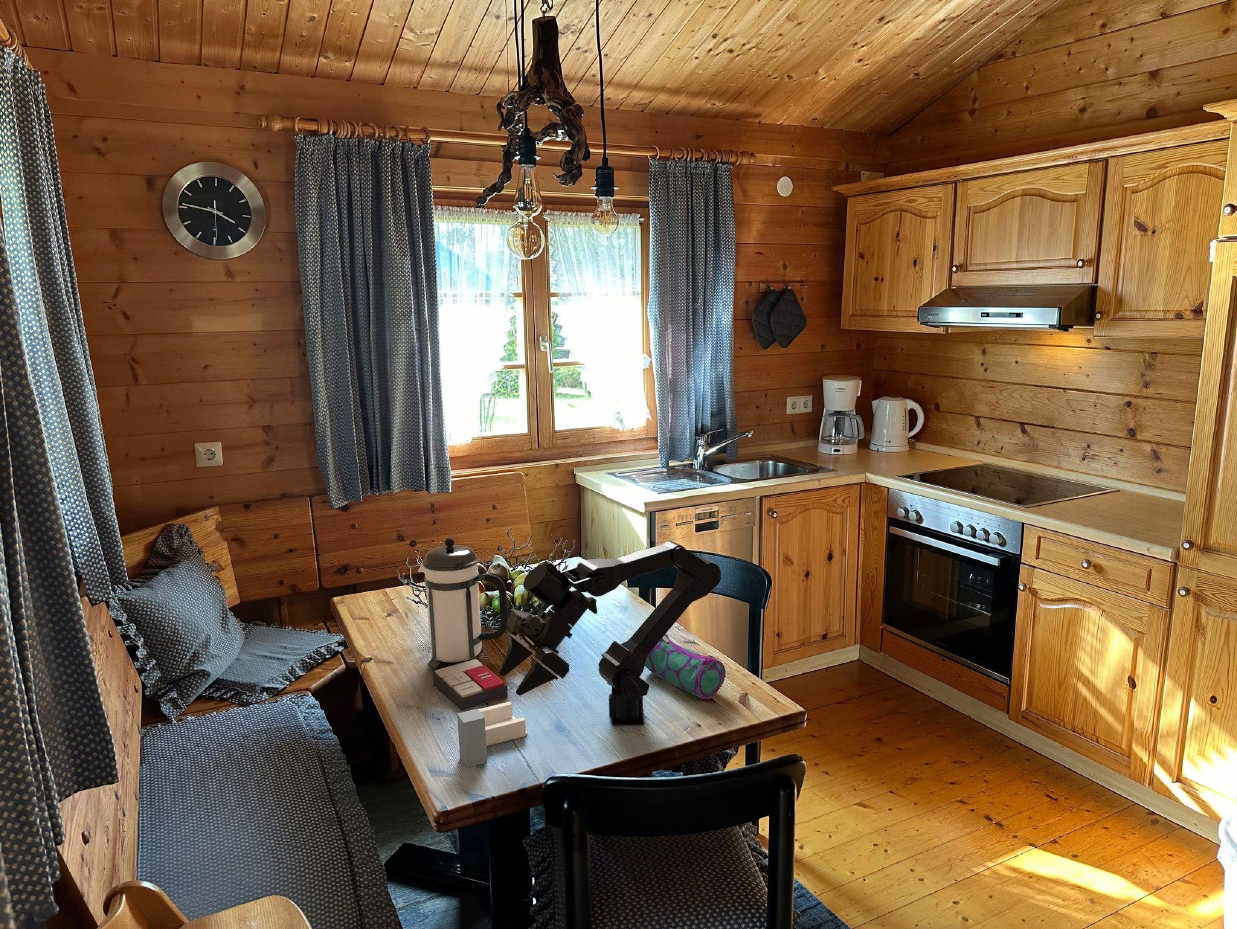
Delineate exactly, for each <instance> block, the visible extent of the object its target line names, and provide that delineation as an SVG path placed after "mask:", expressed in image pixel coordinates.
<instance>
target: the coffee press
mask: <svg viewBox="0 0 1237 929" xmlns="http://www.w3.org/2000/svg"><path fill="white" fill-rule="evenodd" d="M455 543H456V542H455V539H454V538H453V537H447V538H446V539H445V540H444V545H440V546H437V547H434V548H433V549H431V550H429V551H428V552H427V553H426V555H425V556H424V559H423V560H422V564H421V565H420V567H419V569H417V572H418V573H424V586H425V590H426V593H425V594H426V603H427V604H426V605H427V606H426V607H427V618H428V619H427V620H428V622H427V623H428V632H429V633H428V634H429V648H430V649H429V650H430V655H431V658H430V660H429V662H428V667H429V668H430V669H432V670H436V669H437V668H438V667H439V665H440V663H442V662H444V663H462V662H467V661H471V660H474V659H476V660H477V657H476V656H478V655H479V654H480V653H481V652H483V651H484V648H485V647H484V645H483V644H482V641H488V640H489V641H490V640H491V641H492V640H496V639H499V638H501V637H502V636H503V635H504V634H505V633H506V630H507V628H508V626H507V625H506V624H507V622H508V619H509V610H508V608H509V606H508V595H507V587H506V584H505V583H504V581H503V580H502V579H501V578H500V577H499V576H498V575H496V574H493V573H483V574H480V572H479V571H478V564H479V559H480V557H479V555H477V554H476V551H475V550H474V549H472V548H471V547H470V546H466V545H462V544H455ZM479 582H485V583H486V582H487V583H492V584H494V585H495V586H496V588H497V590H498V598H499V618H500V624H499V627H498V628H497V629H496V630H493V631H483V630H482V626H481V609H480V608H481V607H480V591H479V590H480V588H479Z"/></svg>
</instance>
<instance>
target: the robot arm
mask: <svg viewBox="0 0 1237 929" xmlns="http://www.w3.org/2000/svg"><path fill="white" fill-rule="evenodd" d="M672 566H674V567H675V568H677V569H678V571H677V572H676V575H675V576H676V577H675V579H674V583H673V587H672V588H671V590H670V591H669V592H668V593H667V594H666V595H665V597H663V598H662V600H661V601H660V602H659V603H658V604H657V606H656V607H655V608H654V610H653V611H651V613H650V614H649V616H648V617H647V618H646V619H645V620H644V621H643V622H642V623H641V625H640V626H639V627H638V628H637V630H636V631H634V633H633V634H632V636H631V637H629V639H628V640H626V641H624V642H622V643H619V641H616V640H613V642H611V644H610V646H609V647H608V648H607V650H606V651H604V652H603V653H601V654H600V656H601V659H599V662H598V673H599V675H600V677H601V678H602V679H604V681H606V684H607V685H609V686H611V693H609V694H608V714H609V715H608V716H609V719H611V725H612V726H638V725H644V724H645V717H644V716H645V715H644V714H645V712H644V696H648V693H649V689H650V687H651V686H650V684H649V683H648V682H647V681H645V680H644V679H642V678H641V676H642V675H643V673H644V670H645V662H646V658H647V656H648V654H649V653H650V652H651V651H652V650H653V648H654V647H655V646H656V645H657V644H658V642H659V641H660V640H661V639H662V638H663V637H664V635H665V634H667V633H668V631H670V629H671V628H672V627H673V626H674V625H675V623H676V622H677V621H678V620H679V619H680V617H682V615H683V614H684V613H685V611H687V609H688V608H689V606H690V605H692V604H693V602H696V601H699V600H701V599H702V598H705V597H707V596H708V595H709V594H710V593H711V592H712V591H714V589H716V588H717V586H719V584H720V583H721V581H722V577H721V576H722V571H721V568H720V566H719V565H718V564H717V563H715V562H713V561H711V560H708V559H706V558H704V557H702V556H700V555H695V554H693V553H692V552H690V551H689V550H688V549H687V548H686V547H685V546H683V545H682V544H679V543H677V542H674V541H673V540H670V541H666V542H664V543H662V544H659V545H656V546H653V547H650V548H647V549H643V550H639V551H636V552H633V553H630V554H627V555H624V556H620V557H617V558H593V559H584V560H582V561H580V562H578V563H577V566H573V567H571V568H567V569H565V570H562V571H560V570H559V569H558V568H557V567H556V566H555V564H553V563H552V562H551V561H550V560H548V559H546V560H544V562H542V564H539V565H536V566H535V567H534V568H532V569H531V570H529V572H528V573H527V574H526V575H525V578H524V580H523V583H522V586H523V589H524V590H525V591H527V592H528V593H529V594H530V595H531V596H533V597H534V598H535V599H537V600H538V601H540V602H541V603H542V604H543V605H544V606H548V607H549V606H550V607H549V609H548V610H547V611H544V610H542V611H541V610H540V611H539V612H538V614H537V615H534V614H531V613H528V612H525V611H521V610H518V609H514V608H513V609H511V612H510V614H509V616H508V622H507V624H506V625H507V629H506V630H507V631H508V632H507V633H506V637H507V639H508V647H507V652H506V654H505V657H504V658H503V662H502V663H501V664H502V665H501V667H500V668H499V671H498V674H499V675H500V676H501V678H504V677H505V676H507V675H508V674H509V673H511V672H512V671H513V670H514V669H516V667H518V666H519V665H520V664H522V663H523V662H524V661H525V660H526V659H528V658H529V657H530V669H529V670H528V671H527V673H526V674H525V676H524V678H523V679H522V681H521V682H520V684H519V685H518V687H517V689H516V690H515V693H516V695H517V696H520V697H521V696H523V695H524V694H527V693H528V692H530V691H532V690H534V689H536V688H538V687H540V686H542V685H545V684H547V683H549V682H551V681H553V680H556V681H558V680H559V678H561V679H562V680H564V679H565V677H566V676H567V674H569V672H570V663H569V662H567V661H566V660H565V659H564V658H563V657H562V656H560V654H559V653H560V651H559V650H558V647H559V646H560V645H561V644H562V642H563V641H564V640H565V638H568V639H571V638H572V636H573V633H571V630H573V628H574V627H575V626H576V624H577V623H578V622H579V620H580V619H581V618H582V616H584V614H585V613H586V611H587V610H589V611H590V612H591V613H593V614H594V615H597V614H598V607H597V599H596V598H595V597H603V596H605V595H606V594H608V593H611V592H612V591H614V590H617V588H618V587H619V586H620V585H621V584H622V583H623V582H626V581H628V580H631V579H633V578H634V579H635V578H637V577H641V576H643V575H648V574H649V573H652V572H657V571H659V570H663V569H665V568H669V567H672ZM570 587H571V588H573V589H574V590H570ZM584 593H587V594H589V595H591V596H589V597H588V596H586V595H585V594H584ZM533 651H534V652H535V654H534V657H533V656H531V655H533Z"/></svg>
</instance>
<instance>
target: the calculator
mask: <svg viewBox="0 0 1237 929" xmlns="http://www.w3.org/2000/svg"><path fill="white" fill-rule="evenodd" d="M432 682H433V684H432V685H433V687H434V688H435V689H437V691H438V692H440V693H442V694H443V695H444V696H445V697H446V699H448V700H449V701H450V702H452V704H454V705H455V706H456V707H457V708H458V709H459V710H460V711H464V710H469V709H471V708H474V707H478V706H481V705H485V704H487V703H490V702H494V701H497V700H500V699H503V698H506V697H508V696H509V694H508V684H507V683H506V682H505V681H504V680H502V679H501V678H500V677H499V676H497V674H495V673H494V672H493V671H492V670H491V669H489V668H488V667H487V666H486V665H484V664H483V663H482V662H481V661H480V660H478V659H477V658H476V659H474V660H471V661H463V662H459V663H456V664H454V665H450V666H446V667H443V668H440V669H437V670H436V669H435V670H434V671H432Z"/></svg>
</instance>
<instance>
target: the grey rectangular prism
mask: <svg viewBox="0 0 1237 929" xmlns="http://www.w3.org/2000/svg"><path fill="white" fill-rule="evenodd" d="M478 709H479V708H475V709H470V710H467V711H462V712H458V713H457V714H456V715H457V718H456V719H457V732H458V749H459V759H460V760H461V762H462V763H463V765H464V766H465V768H471V767H474V766H480V765H482V764H486V763H488V756H487V754H488V753H487V746H486V732H485V717H484V716H483V715H482V713H481V712H480V711H479V710H478Z"/></svg>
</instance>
